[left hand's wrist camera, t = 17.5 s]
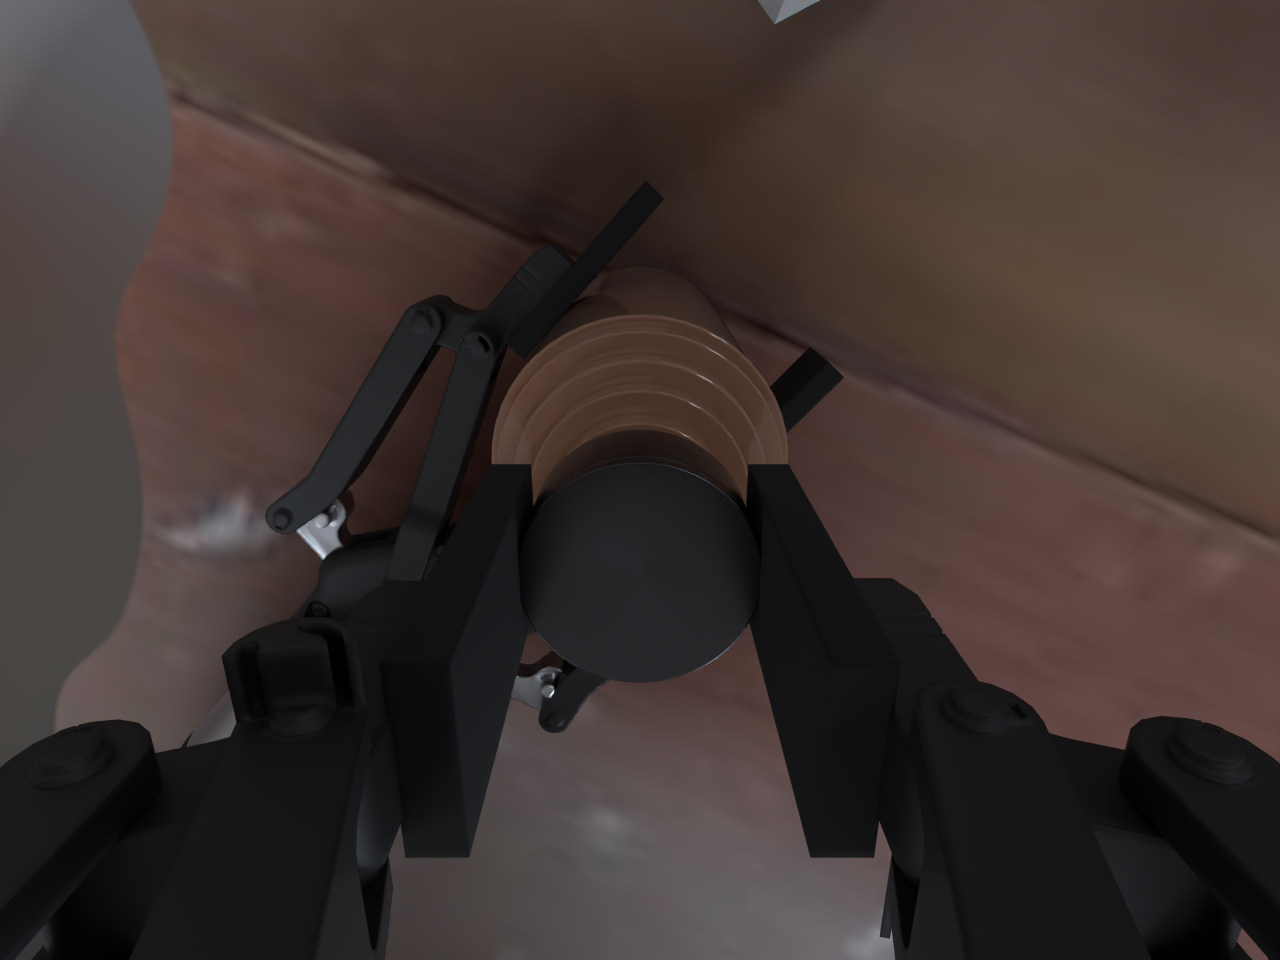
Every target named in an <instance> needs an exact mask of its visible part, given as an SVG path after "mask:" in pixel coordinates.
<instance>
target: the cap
mask: <svg viewBox="0 0 1280 960" xmlns="http://www.w3.org/2000/svg"><path fill="white" fill-rule="evenodd" d="M518 563H519V580H520V595H521V602H522V605H523V608H524V611H525V613H526V615H527V617H528V619H529V621H530V623H531V625H532V626H533V627H534V629H535V630H536V632H537V633H538V635H539V636H540V637H541V638H542V640H543V641H544V642H545V643H546V644H547V645H548V646H549V647H550V648H551V649H552V650H553V651H554V652H556V653H557V654H558V655H559V656H560V657H562V658H563V659H565V660H566V661H568V662H569V663H571V664H572V665H574V666H576V667H578V668H580V669H582V670H584V671H586V672H589V673H591V674H594V675H597V676H600V677H603V678H607V679H611V680H616V681H624V682H645V683H646V682H656V681H663V680H668V679H673V678H677V677H680V676H683V675H686V674H689V673H691V672H693V671H695V670H697V669H700V668H702V667H704V666H705V665H707V664H709V663H710V662H712V661H713V660H715V659H716V658H718V657H719V656H720V655H721V654H723V653H724V652H725V651H726V650H728V649H729V647H730V646H731V645H732V644H733V643H734V642H735V641H736V640H737V639H738V638H739V637H740V635H741V634H742V632H743V631H744V630H745V628H746V627H747V625H748V623H749V622H750V620H751V618H752V616H753V614H754V612H755V609H756V606H757V604H758V601H759V588H760V572H761V551H760V547H759V543H758V540H757V537H756V534H755V531H754V528H753V526H752V523H751V520H750V517H749V514H748V511H747V508H746V506H745V503H744V500H743V497H742V495H741V492H740V490H739V488H738V486H737V484H736V482H735V481H734V479H733V477H732V476H731V475H730V473H729V472H728V471H727V469H726V468H725V467H724V466H723V465H722V464H721V463H720V462H719V461H718V460H717V459H716V458H715V457H714V456H713V455H711V454H710V453H709V452H708V451H706V450H705V449H704V448H702V447H700V446H698V445H697V444H695V443H693V442H691V441H689V440H687V439H684V438H682V437H679V436H677V435H673V434H669V433H666V432H661V431H653V430H626V431H618V432H614V433H610V434H606V435H603V436H600V437H598V438H595V439H593V440H590V441H588V442H587V443H585V444H583V445H581V446H579V447H578V448H576V449H575V450H573V451H572V452H571V453H569V454H568V455H567V456H566V457H564V458H563V459H562V460H561V461H560V462H559V463H558V464H557V465H556V466H555V468H554V469H553V470H552V471H551V473H550V474H549V475H548V477H547V478H546V480H545V482H544V483H543V485H542V487H541V489H540V491H539V494H538V496H537V499H536V501H535V504H534V507H533V510H532V513H531V515H530V518H529V521H528V524H527V527H526V530H525V532H524V535H523V538H522V541H521V545H520V549H519V553H518Z"/></svg>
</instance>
